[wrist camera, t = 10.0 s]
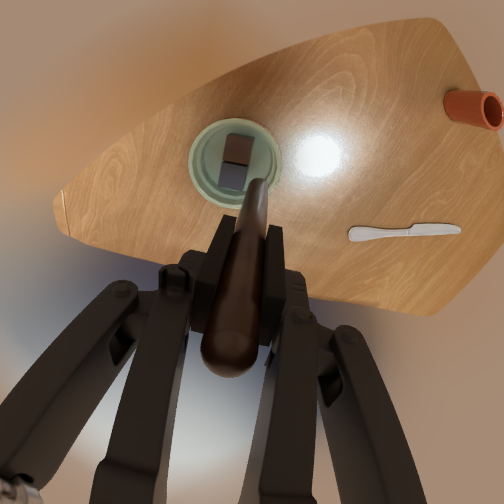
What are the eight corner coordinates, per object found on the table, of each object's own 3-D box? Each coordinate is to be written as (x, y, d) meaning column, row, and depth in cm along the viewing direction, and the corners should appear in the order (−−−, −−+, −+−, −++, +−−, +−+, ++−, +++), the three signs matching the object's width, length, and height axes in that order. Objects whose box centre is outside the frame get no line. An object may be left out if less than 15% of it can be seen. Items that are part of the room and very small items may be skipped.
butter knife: (349, 226, 41) (348, 242, 43) (463, 223, 39) (460, 237, 40) (348, 224, 42) (347, 241, 43) (462, 222, 39) (459, 236, 41)
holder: (446, 84, 28) (484, 84, 19) (469, 99, 28) (506, 104, 20) (440, 113, 31) (478, 119, 22) (463, 127, 31) (500, 137, 22)
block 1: (230, 132, 36) (226, 134, 33) (255, 137, 36) (253, 139, 33) (226, 155, 38) (222, 159, 35) (250, 160, 38) (247, 165, 35)
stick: (251, 173, 27) (196, 346, 8) (270, 178, 27) (262, 360, 8) (247, 192, 28) (193, 381, 9) (266, 196, 28) (249, 392, 9)
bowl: (205, 111, 35) (195, 112, 31) (288, 127, 35) (291, 129, 31) (192, 189, 41) (183, 199, 37) (270, 205, 41) (269, 217, 37)
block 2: (225, 157, 38) (221, 162, 35) (249, 162, 38) (247, 167, 35) (221, 180, 39) (217, 186, 36) (244, 185, 40) (242, 191, 36)
